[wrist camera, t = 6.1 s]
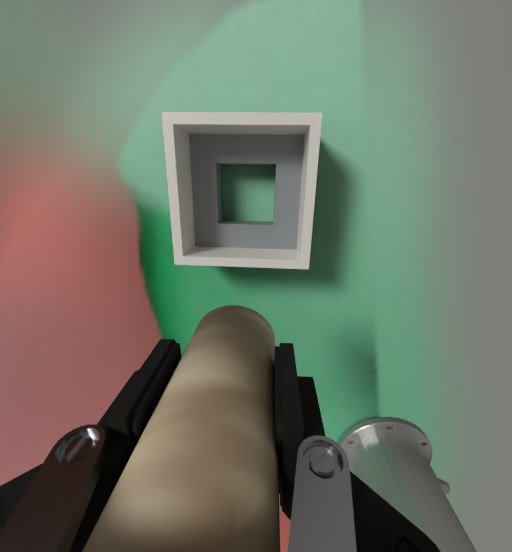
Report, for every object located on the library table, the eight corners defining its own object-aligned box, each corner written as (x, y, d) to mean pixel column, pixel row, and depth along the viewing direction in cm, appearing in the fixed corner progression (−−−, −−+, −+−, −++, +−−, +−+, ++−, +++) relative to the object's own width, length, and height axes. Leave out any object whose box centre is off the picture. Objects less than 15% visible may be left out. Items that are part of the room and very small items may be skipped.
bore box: (310, 130, 25) (322, 112, 19) (301, 251, 29) (308, 269, 23) (188, 129, 26) (161, 112, 20) (195, 248, 30) (174, 264, 24)
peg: (289, 327, 13) (341, 729, 3) (252, 385, 14) (215, 795, 5) (214, 291, 12) (35, 636, 3) (183, 354, 14) (-12, 736, 4)
